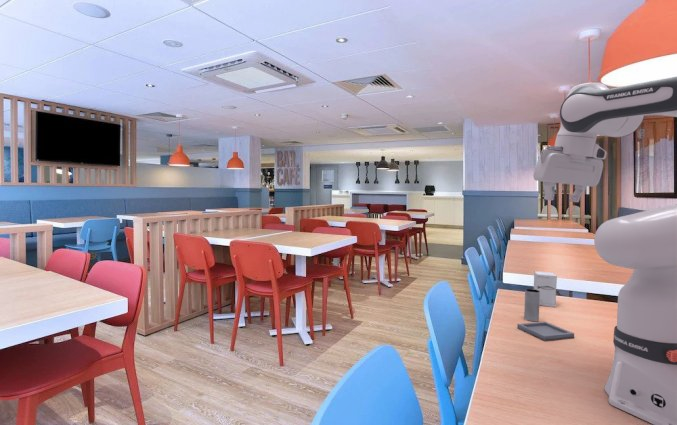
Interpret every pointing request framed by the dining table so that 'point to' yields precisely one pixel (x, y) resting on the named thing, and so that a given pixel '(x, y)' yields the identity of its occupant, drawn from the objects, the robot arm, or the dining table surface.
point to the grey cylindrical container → (532, 305)
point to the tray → (545, 331)
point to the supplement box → (546, 287)
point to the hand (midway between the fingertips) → (561, 200)
